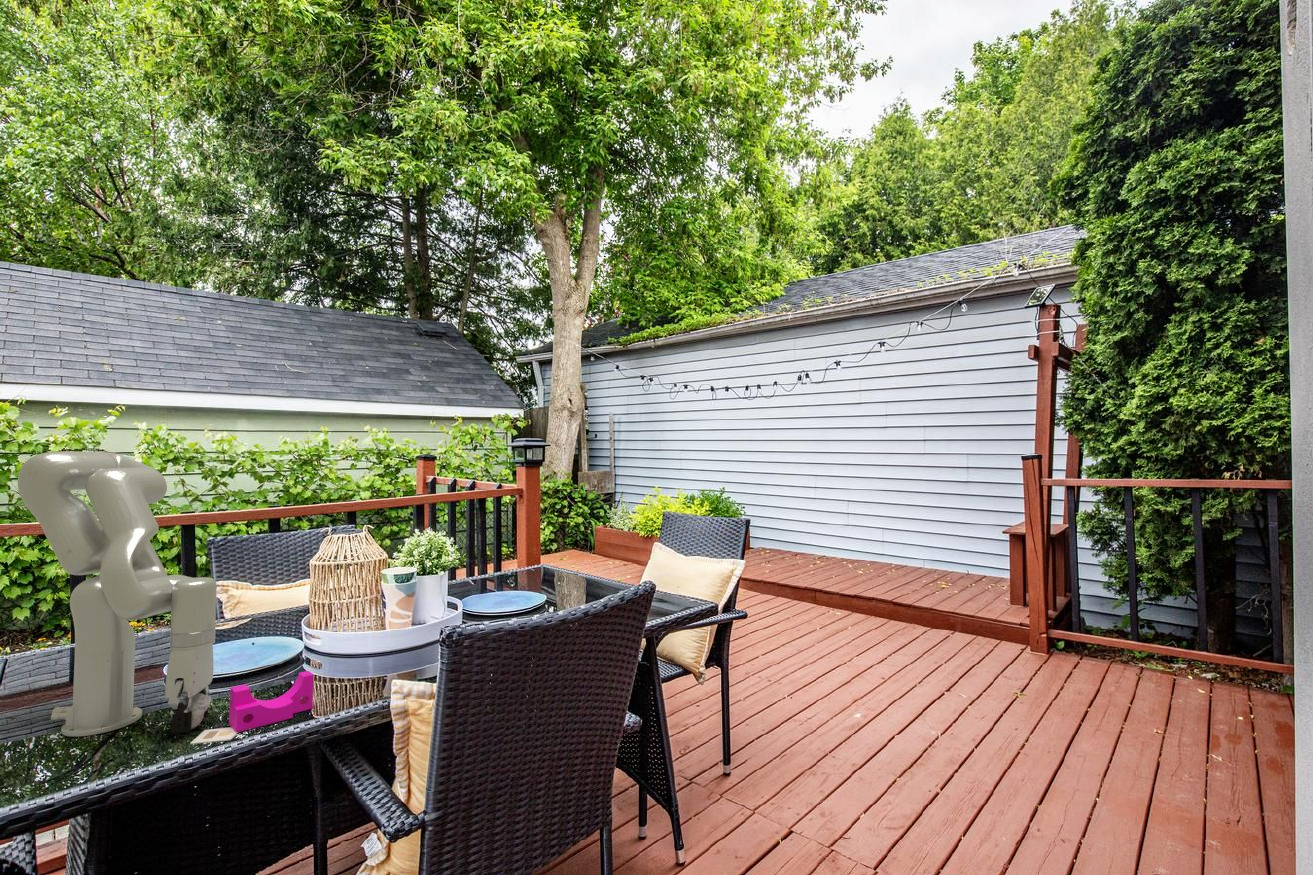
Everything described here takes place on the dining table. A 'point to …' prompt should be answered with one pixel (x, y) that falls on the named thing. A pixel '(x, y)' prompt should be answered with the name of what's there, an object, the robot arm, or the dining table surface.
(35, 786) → the dining table surface
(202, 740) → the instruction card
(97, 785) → the dining table surface
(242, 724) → the toy block
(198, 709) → the frog figurine
